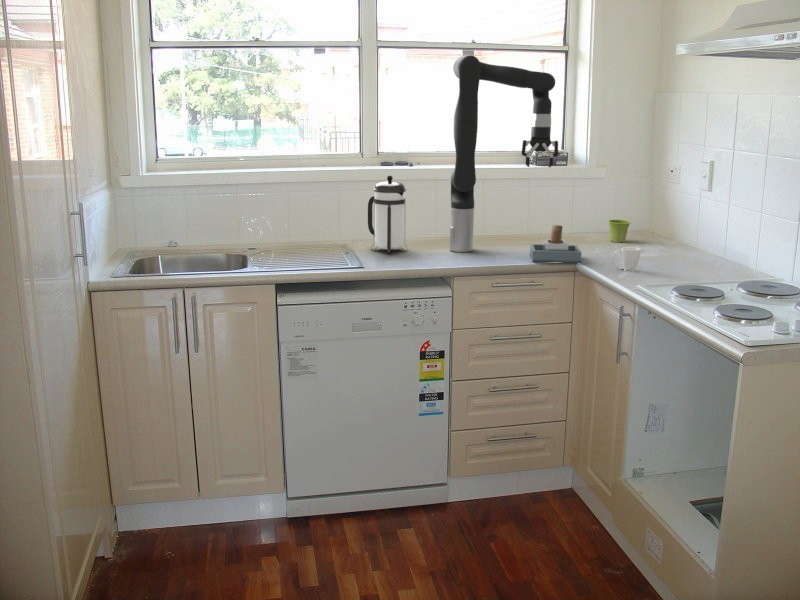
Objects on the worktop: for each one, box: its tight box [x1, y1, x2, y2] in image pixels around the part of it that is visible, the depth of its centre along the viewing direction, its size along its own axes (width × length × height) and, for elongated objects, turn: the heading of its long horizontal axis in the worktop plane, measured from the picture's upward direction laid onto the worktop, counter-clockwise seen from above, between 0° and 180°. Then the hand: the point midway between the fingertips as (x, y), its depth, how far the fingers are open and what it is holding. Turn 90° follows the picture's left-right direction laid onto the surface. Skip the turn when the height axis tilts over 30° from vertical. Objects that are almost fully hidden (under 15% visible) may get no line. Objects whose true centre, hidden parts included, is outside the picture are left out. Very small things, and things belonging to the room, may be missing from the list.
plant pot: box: [607, 219, 632, 243], centre depth 341 cm, size 9×9×9 cm
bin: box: [529, 243, 582, 265], centre depth 305 cm, size 18×13×4 cm
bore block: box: [542, 238, 569, 251], centre depth 304 cm, size 9×9×6 cm
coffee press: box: [367, 175, 409, 255], centre depth 316 cm, size 17×16×30 cm
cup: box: [611, 246, 642, 272], centre depth 288 cm, size 7×10×8 cm
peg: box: [550, 224, 563, 243], centre depth 303 cm, size 4×4×12 cm
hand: (538, 166), depth 318 cm, fingers open, 8 cm apart
